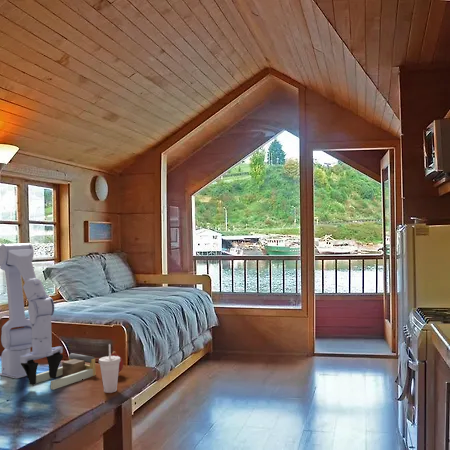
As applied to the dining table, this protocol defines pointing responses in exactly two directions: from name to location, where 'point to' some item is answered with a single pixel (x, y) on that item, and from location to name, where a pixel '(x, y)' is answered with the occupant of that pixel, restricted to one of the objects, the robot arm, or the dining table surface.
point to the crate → (73, 366)
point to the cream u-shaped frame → (71, 378)
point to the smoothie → (109, 371)
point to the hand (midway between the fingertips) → (42, 381)
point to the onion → (119, 362)
